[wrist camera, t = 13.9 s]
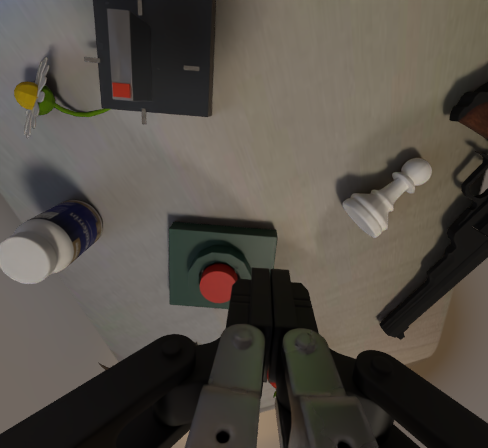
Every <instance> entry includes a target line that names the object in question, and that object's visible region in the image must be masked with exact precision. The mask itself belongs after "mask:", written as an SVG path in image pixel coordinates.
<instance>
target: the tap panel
mask: <svg viewBox="0 0 488 448" xmlns="http://www.w3.org/2000/svg"><path fill="white" fill-rule="evenodd" d="M93 6H94V18H95V30H96V43H97V55H98V58H90V57H84V59H85V62H95V63H98V67H99V80H100V92H101V104H102V108H105V109H117V110H129V111H141V112H142V124H146V112H153V113H165V114H177V115H190V116H202V117H209V116H212V97H213V71H214V45H215V19H216V0H93ZM107 9H118V10H129V11H130V12H132V13H133V14H134V15H136V16H137V17H138V18H140V19H141V20H142V21H144V22H145V23H147V24H148V25H149V26H150V37H151V81H152V101H127V100H116V99H113V95H112V79H111V64H110V48H109V33H108V17H107Z"/></svg>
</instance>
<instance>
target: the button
mask: <svg viewBox="0 0 488 448" xmlns="http://www.w3.org/2000/svg"><path fill="white" fill-rule="evenodd" d="M237 280H238V278H237V274H236V272H235V271H234V270H233V269H232V268H231V267H230V266H228V265H226V264H221V263H217V264H213V265H210V266H208V267H207V268H206V269H205V270H204V272H203V274H202V278H201V281H200V291H201V293H202V295H203V296H204V297H205V298H206V299H207V300H209V301H211V302H214V303H224V302H227V301H229V300H230V297H231V290H232V285H233V284H234V283H235V282H236V281H237Z"/></svg>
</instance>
